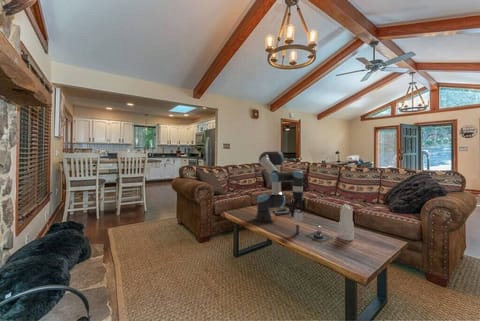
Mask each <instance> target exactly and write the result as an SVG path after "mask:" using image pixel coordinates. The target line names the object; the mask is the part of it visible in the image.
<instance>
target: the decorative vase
mask: <svg viewBox="0 0 480 321" xmlns="http://www.w3.org/2000/svg"><path fill="white" fill-rule="evenodd" d="M339 212H340V214H339V215H340V216H339V221H338V231H337V233H338V234H337V235H338V238H339V239H341V240H344V241H354V240H355V232H354V230H355V228H354V226H355V225H354V224H355V223H354V221H353V220H354V219H353V218H354V217H353V206H352V205H349V204H348V203H344V204H343V205H342V207H341V208H340V211H339Z"/></svg>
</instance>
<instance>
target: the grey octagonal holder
mask: <svg viewBox="0 0 480 321" xmlns="http://www.w3.org/2000/svg"><path fill="white" fill-rule="evenodd" d="M294 213H295V222H300V221H301V222H302V221H303V220H304V214H303V211H301V209H295V212H294Z"/></svg>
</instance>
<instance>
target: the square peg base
mask: <svg viewBox="0 0 480 321" xmlns="http://www.w3.org/2000/svg"><path fill="white" fill-rule="evenodd" d="M304 236H306V237H308V238H310V239H312V240H315V241H316V242H319V244H323V243H326V242H330V241H333V239H334V237H333V236H331V235H328V234H325V233H323V232H322V226H321V225H317V226H316V231H314V232H310V233H308V234H307V233H306V234H305V235H304ZM329 240H330V241H329Z"/></svg>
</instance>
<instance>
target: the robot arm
mask: <svg viewBox="0 0 480 321" xmlns="http://www.w3.org/2000/svg"><path fill="white" fill-rule="evenodd" d="M284 161H285V158H284V154H283V152H282V151H278V150H277V151H275V150H274V151H264V152H262V153H260V155H259V157H258V162H259V163H260V165H261V166H263V168H264V170H265V171H267V173H268V174H269V177H268V178H269V181H270V182H271V193H270V194H266V193H265V194H259V195H258V196H257V198H256V204H257V206H256V207H257V208H256V209H257V210H256V211H257V212H256V213H255V214H256V216H255V221H256V222H259V223H269V222H272V219H273V218H272V216H271V215H272V214H271V212H270V210H271V209H281V208H283V207H285V205H286V202H287V201H286V196H285V195H284V194H283V192H282V183H284V182H288V183H289V182H291V183H292V199H289V202H290V203H289V210H288V212H289V213H290V215H291V216H290V218H291V222H294V223H295V222H296V221H295V213H294V212H295V210H297V209H296V208H297V206H298V205H299V210H300V211H303V215H304V214H305V211H306V209H307V208H306V197H303V196H304V172H303V171H302V170H294V171H287V172H281V167H282V164H283V163H284Z"/></svg>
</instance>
